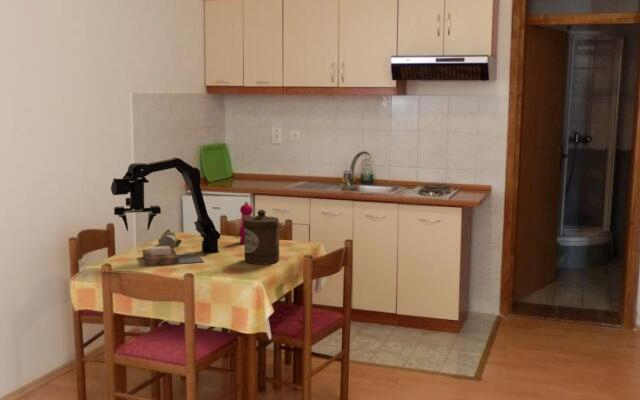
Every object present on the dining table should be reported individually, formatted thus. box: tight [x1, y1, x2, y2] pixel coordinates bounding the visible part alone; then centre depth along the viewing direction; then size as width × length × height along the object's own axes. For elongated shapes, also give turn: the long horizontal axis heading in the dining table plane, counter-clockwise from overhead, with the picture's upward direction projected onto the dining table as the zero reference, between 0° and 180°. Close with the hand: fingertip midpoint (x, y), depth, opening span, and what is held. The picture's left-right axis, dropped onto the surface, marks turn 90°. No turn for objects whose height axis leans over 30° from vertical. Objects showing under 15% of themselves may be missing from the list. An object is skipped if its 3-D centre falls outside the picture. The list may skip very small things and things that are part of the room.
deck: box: [142, 247, 180, 267], centre depth 313 cm, size 13×18×3 cm
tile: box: [149, 245, 171, 256], centre depth 313 cm, size 8×6×2 cm
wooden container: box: [243, 209, 280, 265], centre depth 313 cm, size 15×15×22 cm
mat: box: [177, 253, 205, 265], centre depth 316 cm, size 10×16×1 cm, turn 18°
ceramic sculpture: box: [158, 229, 182, 249], centre depth 339 cm, size 11×9×15 cm
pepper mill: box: [238, 201, 254, 245], centre depth 351 cm, size 7×7×20 cm
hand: (137, 230), depth 309 cm, fingers open, 8 cm apart
